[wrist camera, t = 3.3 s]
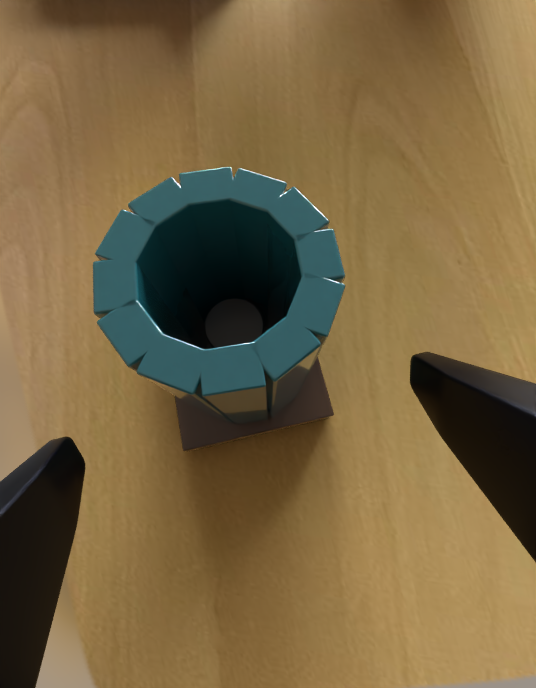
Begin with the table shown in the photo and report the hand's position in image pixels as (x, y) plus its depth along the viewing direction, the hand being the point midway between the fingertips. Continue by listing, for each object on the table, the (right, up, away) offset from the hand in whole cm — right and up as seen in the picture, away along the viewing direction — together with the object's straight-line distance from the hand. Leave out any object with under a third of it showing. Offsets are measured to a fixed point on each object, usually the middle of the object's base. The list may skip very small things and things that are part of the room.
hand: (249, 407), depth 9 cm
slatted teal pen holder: (-1, +1, +10) cm, 10 cm away
